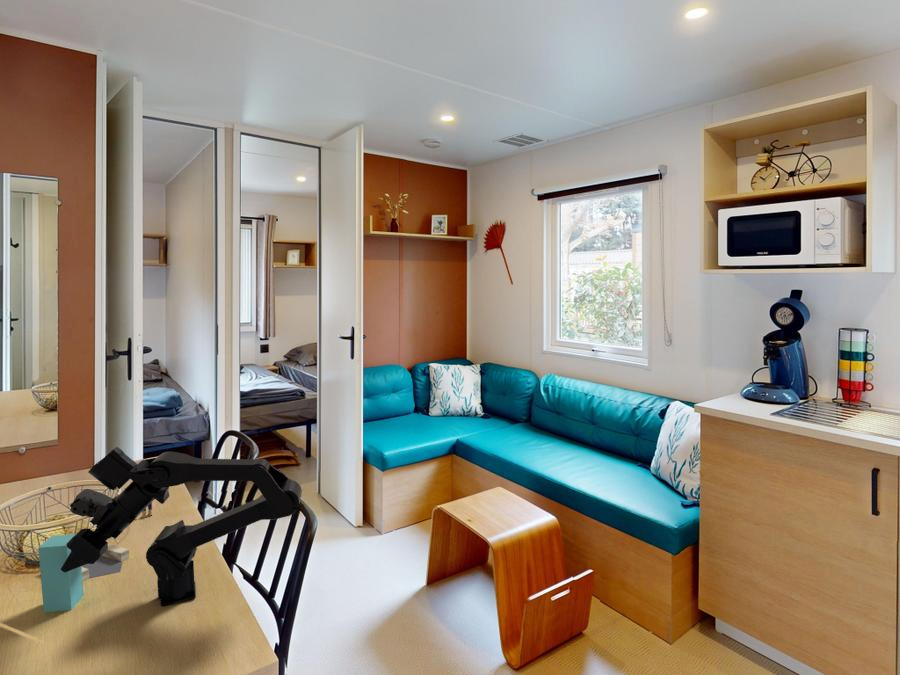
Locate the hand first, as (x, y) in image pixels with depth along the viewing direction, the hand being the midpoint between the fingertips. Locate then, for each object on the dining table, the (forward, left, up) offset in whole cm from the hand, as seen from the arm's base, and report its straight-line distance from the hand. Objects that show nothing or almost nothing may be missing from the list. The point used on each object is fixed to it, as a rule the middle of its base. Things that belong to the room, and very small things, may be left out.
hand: (74, 558), depth 110 cm
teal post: (+2, -1, -10) cm, 10 cm away
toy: (-11, -40, -10) cm, 42 cm away
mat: (-1, -16, -10) cm, 19 cm away
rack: (-1, -16, -9) cm, 18 cm away
